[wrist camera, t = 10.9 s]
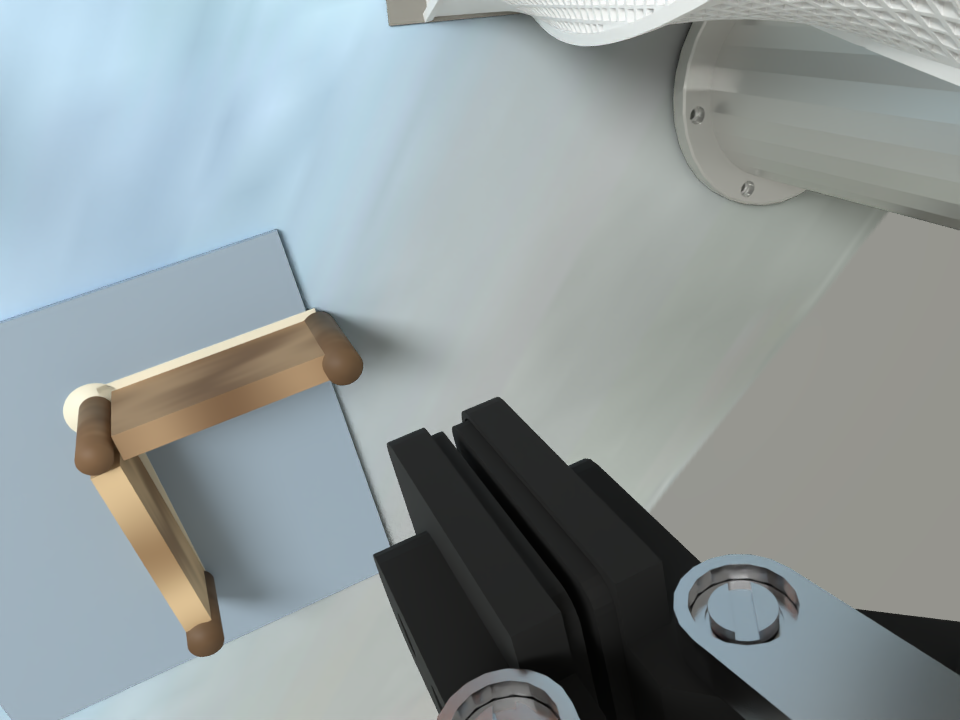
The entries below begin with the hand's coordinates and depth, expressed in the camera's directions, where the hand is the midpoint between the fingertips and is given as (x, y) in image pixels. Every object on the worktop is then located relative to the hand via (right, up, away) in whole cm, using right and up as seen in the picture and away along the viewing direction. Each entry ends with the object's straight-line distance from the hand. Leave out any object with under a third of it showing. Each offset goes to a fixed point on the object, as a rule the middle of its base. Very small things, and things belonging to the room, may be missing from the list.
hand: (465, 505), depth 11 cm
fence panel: (-15, -5, +27) cm, 31 cm away
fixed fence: (-12, +2, +26) cm, 28 cm away
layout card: (-16, -4, +27) cm, 31 cm away
